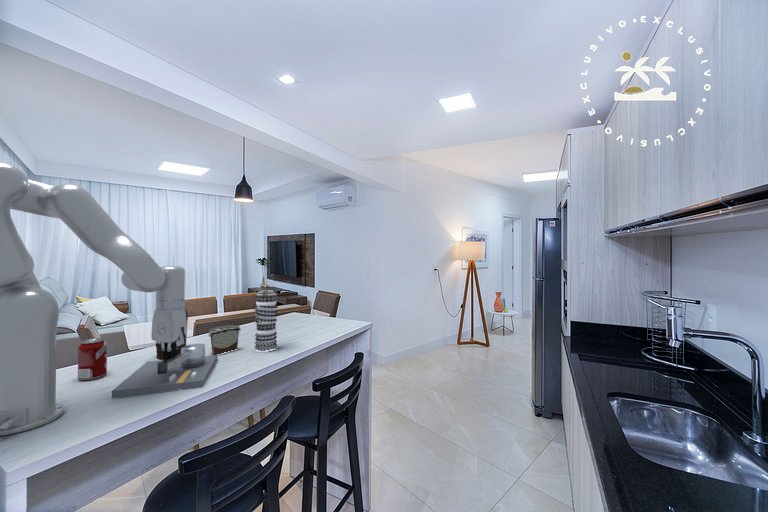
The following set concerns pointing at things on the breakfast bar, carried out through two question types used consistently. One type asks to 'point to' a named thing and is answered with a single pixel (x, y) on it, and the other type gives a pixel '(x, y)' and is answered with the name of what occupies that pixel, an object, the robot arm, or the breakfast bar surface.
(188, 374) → the grey flat square slab
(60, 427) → the breakfast bar surface
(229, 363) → the breakfast bar surface
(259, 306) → the decorative candle
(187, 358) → the metal ladle
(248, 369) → the breakfast bar surface
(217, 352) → the food container
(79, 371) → the soda can
